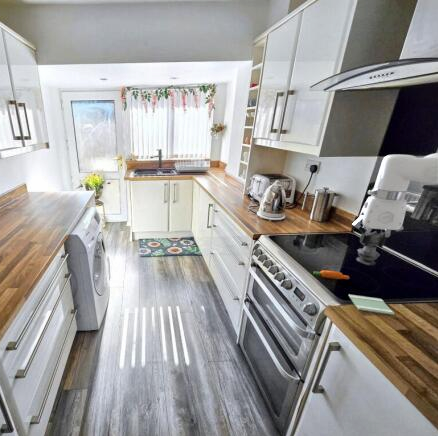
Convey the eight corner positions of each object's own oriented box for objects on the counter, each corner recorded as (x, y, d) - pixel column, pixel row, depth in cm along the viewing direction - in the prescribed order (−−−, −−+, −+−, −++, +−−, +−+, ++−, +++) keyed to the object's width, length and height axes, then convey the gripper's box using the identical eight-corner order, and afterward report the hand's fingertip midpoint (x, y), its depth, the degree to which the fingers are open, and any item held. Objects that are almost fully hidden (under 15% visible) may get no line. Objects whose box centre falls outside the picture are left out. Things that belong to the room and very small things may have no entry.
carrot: (346, 277, 100) (348, 271, 99) (350, 282, 97) (352, 275, 96) (312, 273, 104) (313, 267, 103) (314, 277, 101) (315, 271, 100)
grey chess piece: (375, 267, 82) (386, 235, 77) (353, 261, 86) (362, 230, 82) (377, 261, 85) (388, 230, 81) (356, 255, 89) (366, 225, 85)
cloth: (348, 295, 90) (348, 294, 90) (380, 299, 87) (381, 298, 87) (358, 309, 83) (358, 308, 83) (394, 315, 80) (395, 314, 80)
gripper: (362, 196, 76) (347, 247, 82) (430, 198, 71) (408, 253, 78) (351, 190, 82) (338, 238, 89) (412, 192, 78) (393, 242, 84)
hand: (371, 244), depth 83 cm, fingers closed on grey chess piece, 3 cm apart
